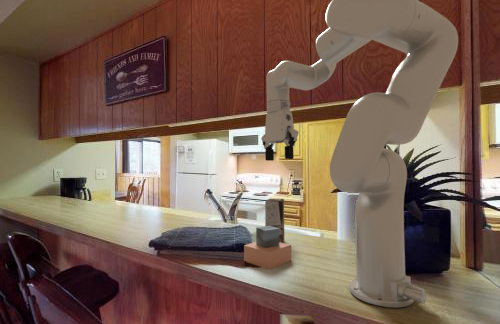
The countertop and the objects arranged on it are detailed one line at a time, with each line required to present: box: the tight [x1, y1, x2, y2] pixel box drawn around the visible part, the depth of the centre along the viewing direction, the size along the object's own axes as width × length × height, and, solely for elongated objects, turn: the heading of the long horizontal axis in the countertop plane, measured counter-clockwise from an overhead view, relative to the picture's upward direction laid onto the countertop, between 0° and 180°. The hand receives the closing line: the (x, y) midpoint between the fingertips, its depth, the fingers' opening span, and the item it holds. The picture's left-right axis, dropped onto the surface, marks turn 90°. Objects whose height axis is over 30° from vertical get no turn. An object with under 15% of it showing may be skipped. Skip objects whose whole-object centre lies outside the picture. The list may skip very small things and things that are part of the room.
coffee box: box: [264, 198, 285, 243], centre depth 99 cm, size 9×6×16 cm
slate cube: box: [255, 225, 279, 248], centre depth 80 cm, size 5×5×5 cm
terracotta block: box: [243, 241, 292, 270], centre depth 80 cm, size 10×10×5 cm
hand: (279, 159), depth 88 cm, fingers open, 9 cm apart
